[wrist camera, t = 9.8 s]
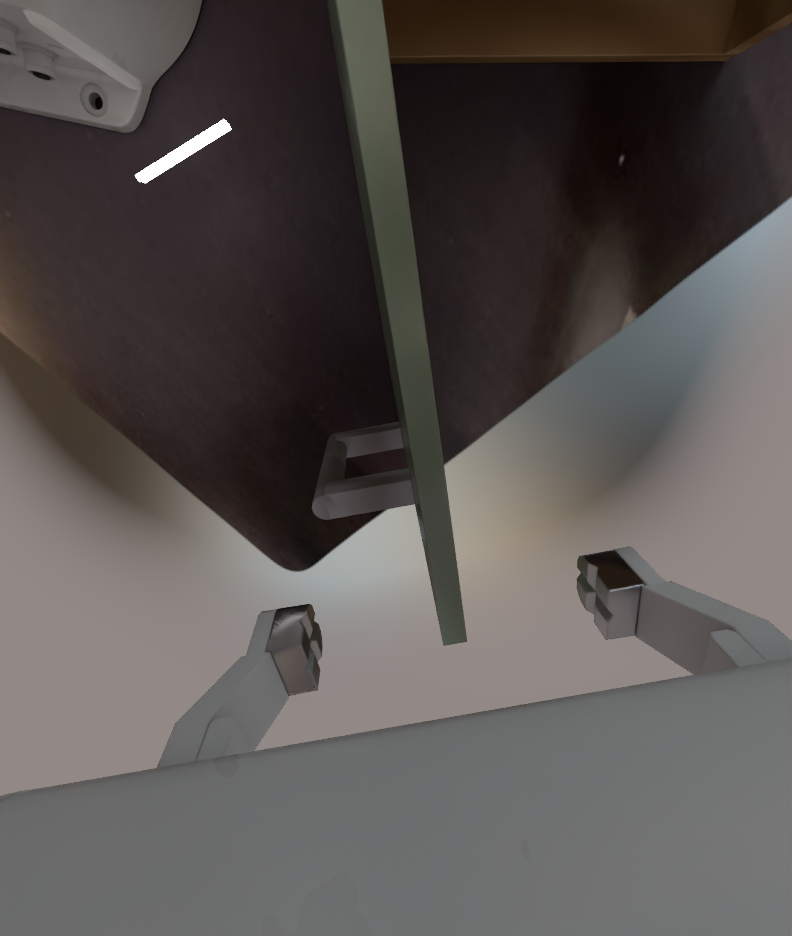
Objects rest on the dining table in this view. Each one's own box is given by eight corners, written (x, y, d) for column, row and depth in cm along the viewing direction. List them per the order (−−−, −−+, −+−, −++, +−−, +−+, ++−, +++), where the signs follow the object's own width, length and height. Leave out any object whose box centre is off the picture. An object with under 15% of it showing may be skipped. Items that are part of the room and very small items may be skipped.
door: (340, 450, 39) (307, 669, 17) (253, 96, 28) (-134, -493, 6) (412, 437, 39) (467, 642, 17) (353, 77, 28) (303, -592, 6)
